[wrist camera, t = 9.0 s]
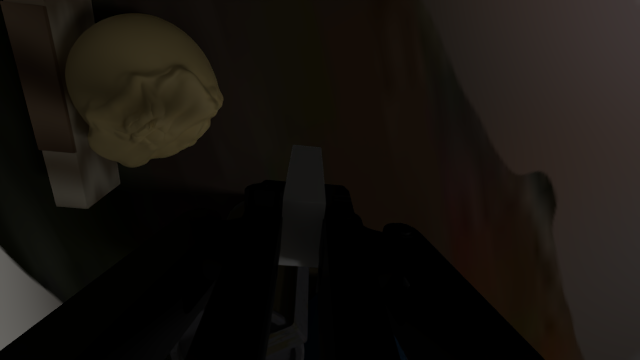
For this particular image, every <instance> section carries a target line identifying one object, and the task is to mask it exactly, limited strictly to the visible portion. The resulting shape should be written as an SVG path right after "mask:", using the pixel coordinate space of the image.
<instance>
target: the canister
mask: <svg viewBox="0 0 640 360" xmlns="http://www.w3.org/2000/svg"><path fill="white" fill-rule="evenodd" d="M244 205H245V200H244V201H242V202H240V203H239V204H237V205H236V206H235V207H234V208H233V209H232V210H231V211H230V213H229V215H228V217H227V219H226V220H230V219H236V218H240V217H242V215H243V213H244ZM308 290H309V267H302V266H288V265H278V277H277V284H276V291H275V298H274V305H273V312H272V319H271V326H270V333H269V339H268V346H267V353H266V360H304V343H305V342H306V341H307V335H308ZM207 303H208V302H207ZM206 305H207V304H206ZM206 305H205V306H204V308H203V309H202V310H201V312H200V313H199V314H198V316H197V317H196V318H195V320H194V321H193V322H192V324H191V325H190V326H189V328H188V329H187V330H186V332H185V333H184V334H183V336H182V337H181V338H180V340H179V341H178V342H177V344H176V345H175V346H174V348H173V349H172V350H171V352H170V353H169V354H170V357H171V360H185V358H186V355H187V353H188V350H189V348H190V345H191V343H192V340H193V338H194V335H195V333H196V330H197V328H198V325H199V323H200V320H201V318H202V315H203V313H204V310H205V308H206Z"/></svg>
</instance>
